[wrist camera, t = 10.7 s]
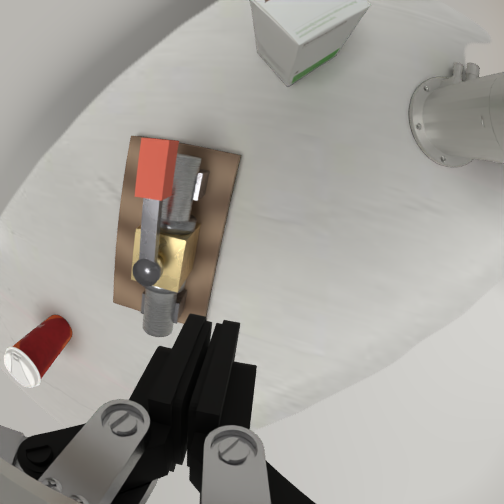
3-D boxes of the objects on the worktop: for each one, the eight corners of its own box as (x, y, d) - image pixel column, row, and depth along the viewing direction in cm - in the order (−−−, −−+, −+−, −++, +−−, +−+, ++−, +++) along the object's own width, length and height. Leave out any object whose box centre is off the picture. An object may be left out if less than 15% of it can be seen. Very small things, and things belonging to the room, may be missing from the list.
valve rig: (137, 135, 37) (94, 135, 27) (241, 155, 37) (229, 158, 27) (118, 296, 45) (84, 334, 34) (205, 321, 45) (187, 368, 35)
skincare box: (286, 88, 34) (296, 51, 19) (253, 50, 33) (242, -5, 18) (339, 54, 32) (376, 6, 17) (305, 17, 31) (322, -45, 16)
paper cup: (43, 303, 47) (-3, 343, 34) (76, 318, 47) (32, 365, 34) (46, 336, 49) (6, 377, 36) (77, 351, 50) (40, 398, 36)
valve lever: (164, 280, 31) (155, 292, 29) (140, 274, 31) (129, 285, 29) (180, 141, 27) (170, 140, 24) (152, 138, 27) (140, 137, 24)
